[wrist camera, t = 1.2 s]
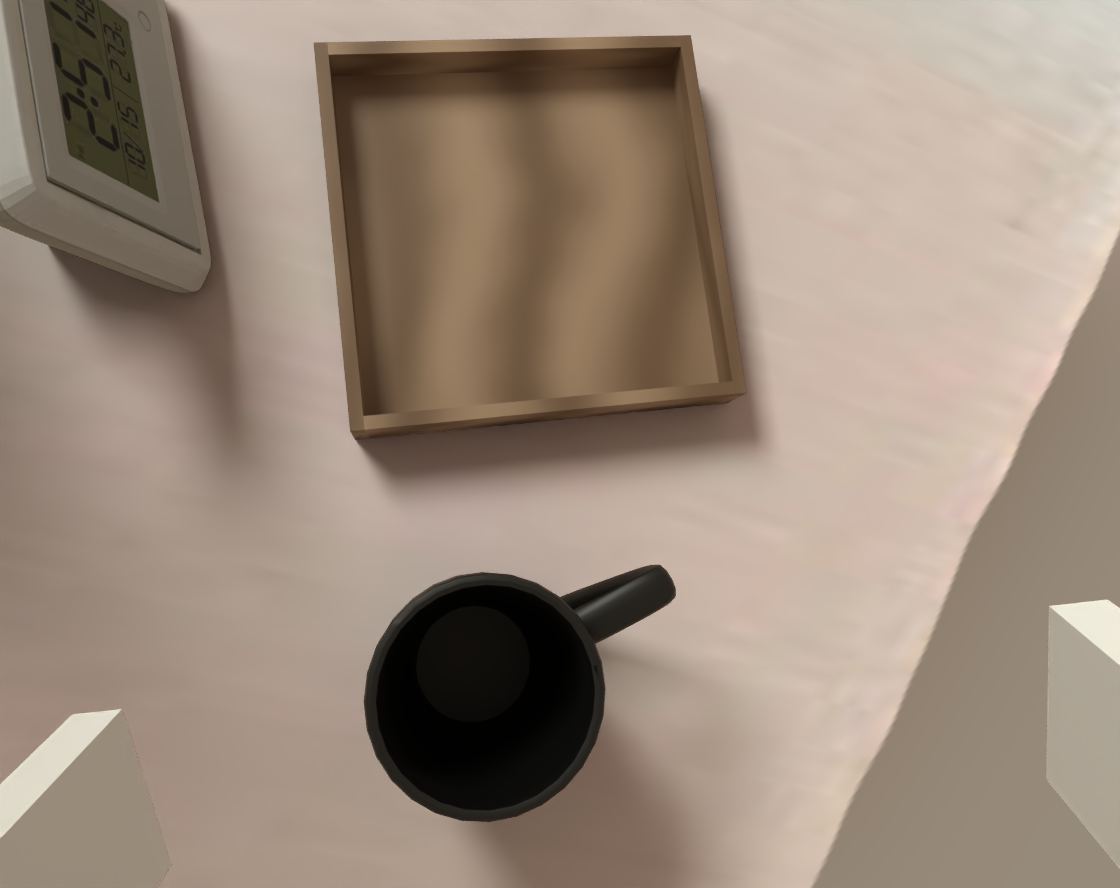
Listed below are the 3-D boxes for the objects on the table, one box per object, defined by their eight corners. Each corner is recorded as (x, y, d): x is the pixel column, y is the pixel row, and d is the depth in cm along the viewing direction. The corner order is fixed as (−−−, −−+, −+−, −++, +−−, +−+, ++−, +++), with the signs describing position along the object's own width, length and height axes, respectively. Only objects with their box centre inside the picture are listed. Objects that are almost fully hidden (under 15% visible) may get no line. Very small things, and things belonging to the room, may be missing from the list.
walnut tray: (355, 439, 38) (350, 431, 35) (320, 74, 40) (313, 42, 38) (727, 402, 41) (746, 392, 38) (675, 65, 43) (690, 35, 41)
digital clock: (216, 313, 38) (134, 218, 27) (0, 308, 36) (-172, 205, 26) (228, -10, 40) (157, -212, 30) (26, -27, 39) (-123, -245, 28)
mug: (664, 659, 39) (739, 690, 29) (430, 793, 36) (431, 873, 27) (584, 502, 39) (633, 483, 30) (348, 624, 37) (321, 644, 27)
